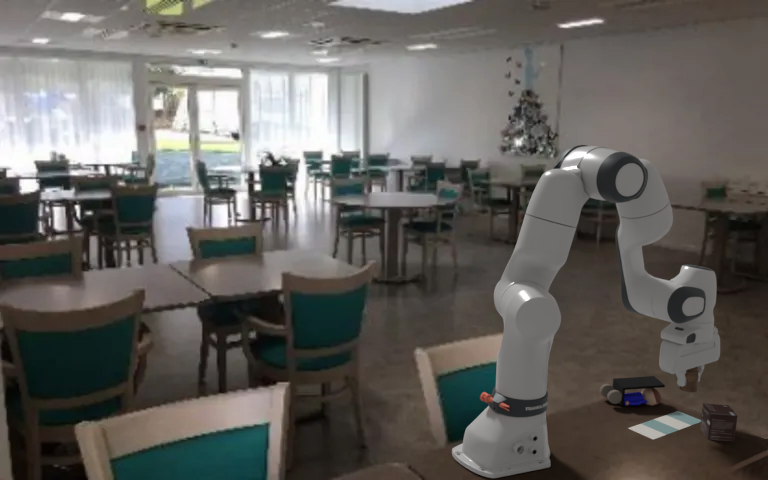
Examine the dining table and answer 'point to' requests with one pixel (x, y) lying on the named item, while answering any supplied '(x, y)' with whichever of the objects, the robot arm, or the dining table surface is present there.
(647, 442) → the dining table surface
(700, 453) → the dining table surface
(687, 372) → the brown rounded cylinder
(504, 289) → the robot arm
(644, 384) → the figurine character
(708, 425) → the box
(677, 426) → the board
